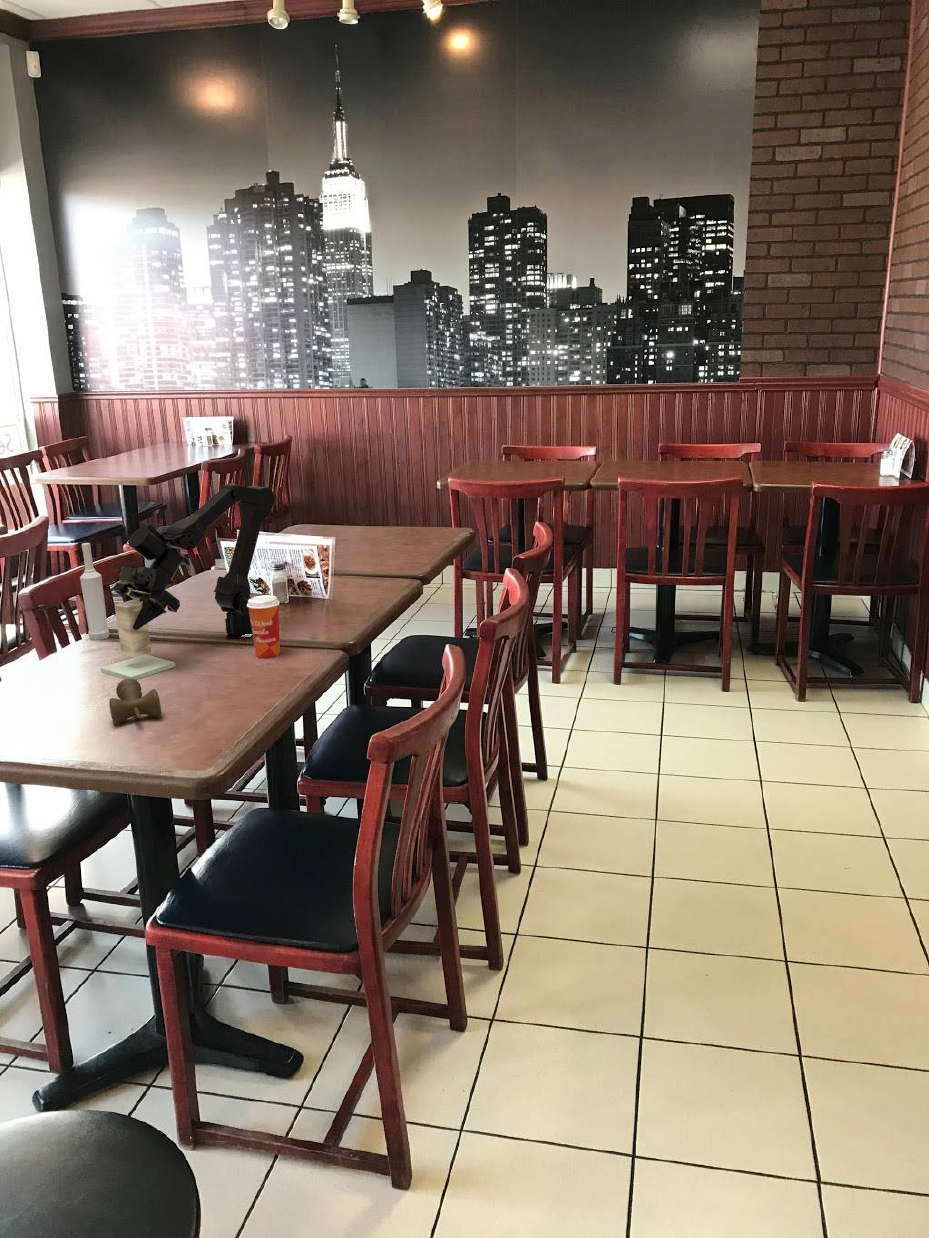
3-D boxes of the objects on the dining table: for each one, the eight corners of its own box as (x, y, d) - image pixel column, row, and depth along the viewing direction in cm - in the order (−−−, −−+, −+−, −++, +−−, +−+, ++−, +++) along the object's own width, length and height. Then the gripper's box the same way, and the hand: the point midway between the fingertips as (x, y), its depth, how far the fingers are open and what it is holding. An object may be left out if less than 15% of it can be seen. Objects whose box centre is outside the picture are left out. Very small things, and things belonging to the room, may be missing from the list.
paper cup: (245, 658, 240) (239, 601, 236) (263, 648, 246) (257, 593, 242) (273, 660, 237) (268, 604, 233) (290, 651, 243) (285, 595, 240)
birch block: (139, 648, 237) (132, 599, 233) (151, 652, 234) (144, 602, 230) (121, 654, 233) (114, 604, 230) (133, 657, 230) (126, 607, 227)
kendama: (153, 697, 217) (166, 726, 200) (107, 706, 214) (115, 736, 196) (149, 671, 216) (161, 697, 198) (102, 680, 212) (110, 707, 194)
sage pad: (145, 658, 243) (144, 654, 242) (175, 666, 235) (175, 662, 235) (101, 672, 234) (100, 667, 233) (131, 681, 226) (131, 677, 226)
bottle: (114, 635, 262) (101, 542, 255) (99, 641, 258) (85, 546, 251) (99, 633, 264) (85, 541, 257) (84, 639, 260) (70, 545, 253)
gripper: (114, 548, 235) (79, 604, 230) (162, 556, 224) (127, 615, 219) (146, 573, 244) (113, 628, 238) (195, 582, 233) (161, 640, 227)
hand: (127, 627), depth 231 cm, fingers closed on birch block, 5 cm apart
